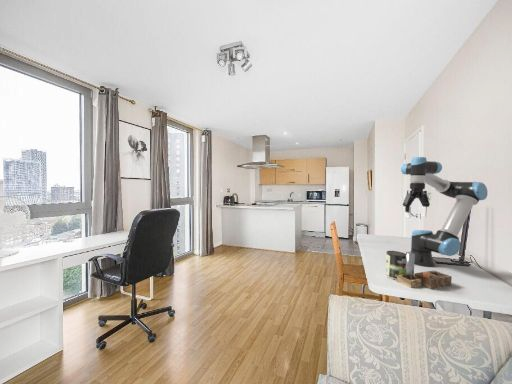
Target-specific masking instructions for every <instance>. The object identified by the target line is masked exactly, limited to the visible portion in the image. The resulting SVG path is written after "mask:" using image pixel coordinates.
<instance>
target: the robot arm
mask: <svg viewBox="0 0 512 384" xmlns="http://www.w3.org/2000/svg"><path fill="white" fill-rule="evenodd" d="M442 170H443V166H442V163H440V162H438V161H427V157H425V156H416V157H412V158H411V162H409V163H404V164H402V165H401V167H400V171H401V173H402V174H403V175H409V176H410V181H409V182H410V183H409V190H407V191H406V195H405V198H404V200H403V202H402V206H403V207H405V208H404V209H405V210H404V211H405V214H404V215H405V218H409V219H410V218H411V217H412V216H411V213H412V210H411V209H412V207H411V205H412V204H413V202H414V201H415V200H416V199H418V200H419V202H420V204H421V205H422V206H421V208H420V217H421V218H427V210H428V209H427V208H428V207H430V205H431V204H430V199H429V197H428V192H427V190H425V189H426V185H428V186H430V187H431V188H434V189H435V191H436V192H437V193H439V194H441V195H444V196H446V197H448V198H452V199H455V200H456V201H455V203H454V204H453V207H452V208H451V210H450V211H449V214H448V215H447V218H446V219H445V222H444V224H443V225H442V227H441V229H437V231H436V232H435V233H434V232H433V231H432V230H426V229H425V230H424V229H422V230H421V229H415V230H413V231H412V232H411V246H410V248H411V249H410V252H412V253H415V261H414V265H417V266H421V267H434V266H435V261H434V257H433V254H432V252H433V253H437V254H439V255H442V256H443V255H444V256H448V257H452V256H455V255H456V254H458V253H459V252H460V250H461V245H462V244H461V241H460V236H458V235H459V233H460V232H461V229H462V228H463V226H464V225H465V222H466V220H467V218H468V217H469V215H470V212H471V210H472V208H473V206H476V205H478V203H479V202H480V201H484V200H486V199H487V197H488V188H487V186H486V184H485V183H483V182H481V181H449V180H447V179H443V178H442V177H439V176H437V174H439V173H441V171H442Z"/></svg>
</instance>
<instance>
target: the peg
mask: <svg viewBox="0 0 512 384" xmlns="http://www.w3.org/2000/svg"><path fill="white" fill-rule="evenodd" d="M405 254H406V264H405V278H407V279H409V280H414V273H415V264H414V261H415V253H412V252H411V251H406V252H405Z"/></svg>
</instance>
